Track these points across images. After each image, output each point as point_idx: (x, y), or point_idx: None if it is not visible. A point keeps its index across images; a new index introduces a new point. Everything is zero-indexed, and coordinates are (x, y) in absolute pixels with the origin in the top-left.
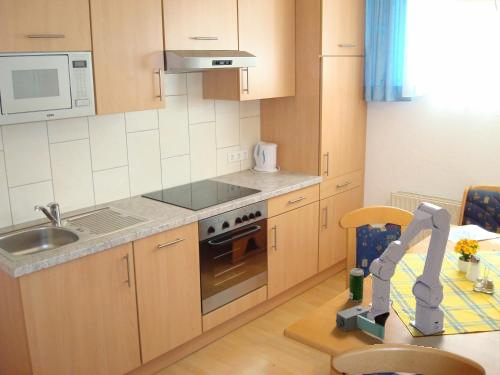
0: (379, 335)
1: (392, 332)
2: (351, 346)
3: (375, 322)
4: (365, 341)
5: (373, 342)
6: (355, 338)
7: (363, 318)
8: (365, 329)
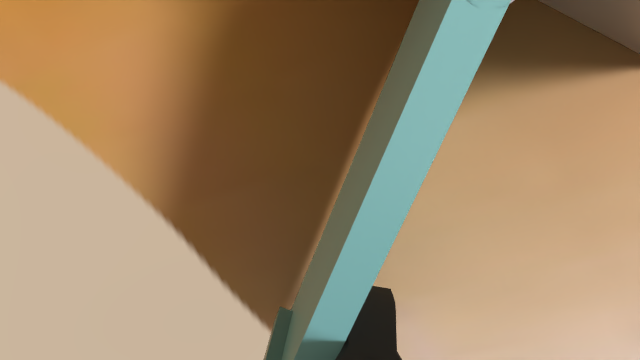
0: (273, 329)
1: (510, 353)
2: (5, 84)
3: (343, 350)
4: (191, 180)
5: (220, 253)
6: (184, 58)
7: (405, 121)
8: (369, 127)
